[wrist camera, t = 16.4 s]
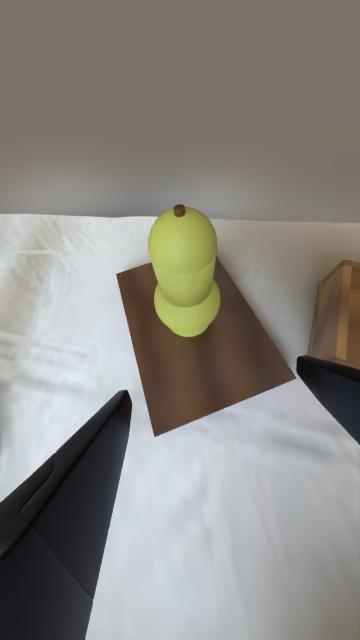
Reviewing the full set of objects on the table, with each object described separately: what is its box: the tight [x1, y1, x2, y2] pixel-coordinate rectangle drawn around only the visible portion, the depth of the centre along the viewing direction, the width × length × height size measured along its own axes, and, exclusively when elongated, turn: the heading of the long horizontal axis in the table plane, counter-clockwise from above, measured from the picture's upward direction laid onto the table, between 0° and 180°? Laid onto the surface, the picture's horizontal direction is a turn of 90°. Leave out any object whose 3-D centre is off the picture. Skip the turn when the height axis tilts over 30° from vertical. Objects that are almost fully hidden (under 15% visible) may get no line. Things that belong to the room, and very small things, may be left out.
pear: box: [148, 204, 221, 337], centre depth 14 cm, size 6×6×12 cm
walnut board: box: [116, 256, 296, 437], centre depth 20 cm, size 14×20×2 cm
